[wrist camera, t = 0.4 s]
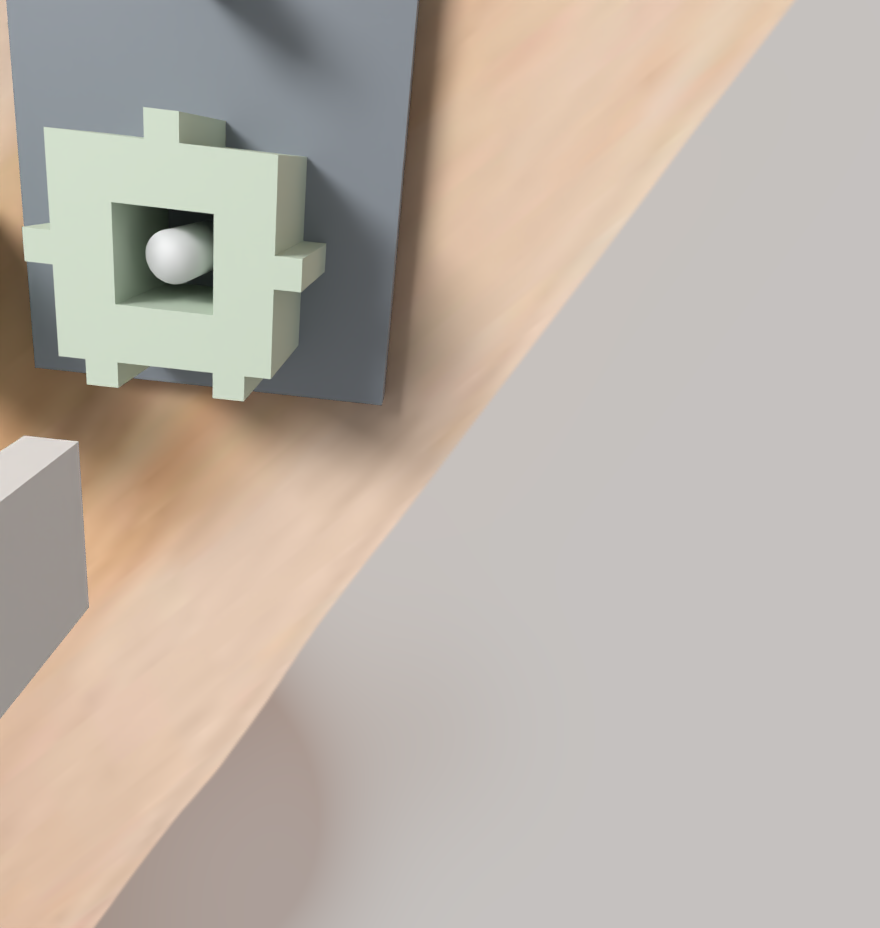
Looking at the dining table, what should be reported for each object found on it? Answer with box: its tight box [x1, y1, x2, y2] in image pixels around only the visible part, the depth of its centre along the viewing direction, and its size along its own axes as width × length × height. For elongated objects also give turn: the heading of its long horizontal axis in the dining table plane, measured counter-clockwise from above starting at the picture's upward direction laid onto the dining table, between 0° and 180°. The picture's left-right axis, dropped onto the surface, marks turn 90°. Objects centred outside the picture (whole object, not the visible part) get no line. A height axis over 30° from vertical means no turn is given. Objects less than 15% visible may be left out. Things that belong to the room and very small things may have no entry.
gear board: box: [6, 0, 419, 405], centre depth 29 cm, size 24×16×8 cm, turn 174°
